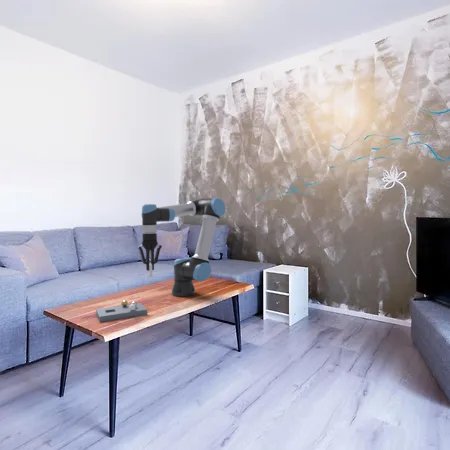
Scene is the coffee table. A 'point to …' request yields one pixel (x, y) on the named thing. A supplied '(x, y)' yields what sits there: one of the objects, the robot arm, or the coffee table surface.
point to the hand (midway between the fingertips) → (150, 276)
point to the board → (120, 312)
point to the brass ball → (124, 303)
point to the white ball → (132, 307)
